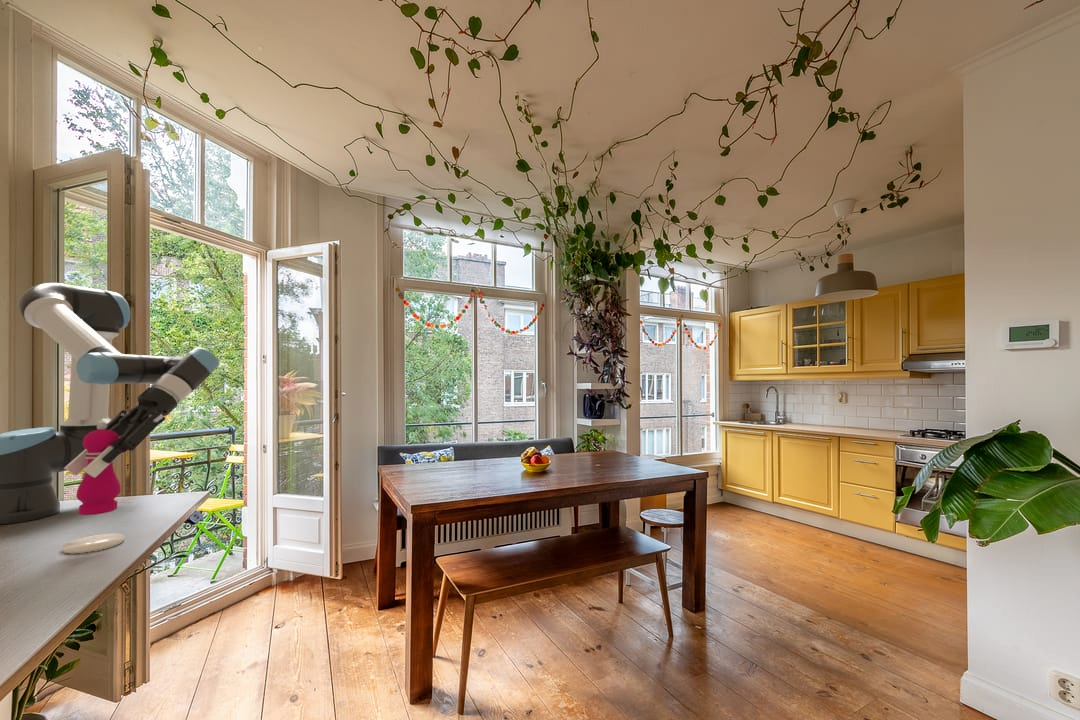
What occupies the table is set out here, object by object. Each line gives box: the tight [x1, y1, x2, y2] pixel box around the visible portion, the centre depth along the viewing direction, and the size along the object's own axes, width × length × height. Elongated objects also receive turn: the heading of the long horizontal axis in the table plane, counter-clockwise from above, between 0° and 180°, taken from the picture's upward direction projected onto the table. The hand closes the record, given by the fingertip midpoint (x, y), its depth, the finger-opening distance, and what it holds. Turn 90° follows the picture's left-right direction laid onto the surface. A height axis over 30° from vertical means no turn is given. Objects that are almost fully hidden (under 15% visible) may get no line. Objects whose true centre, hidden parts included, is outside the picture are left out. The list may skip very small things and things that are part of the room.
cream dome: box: [61, 532, 125, 555], centre depth 103 cm, size 10×10×1 cm
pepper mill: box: [76, 423, 122, 516], centre depth 103 cm, size 7×7×20 cm
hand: (79, 472), depth 100 cm, fingers closed on pepper mill, 6 cm apart
